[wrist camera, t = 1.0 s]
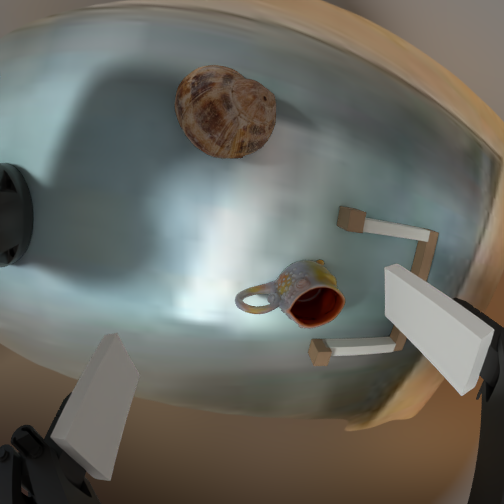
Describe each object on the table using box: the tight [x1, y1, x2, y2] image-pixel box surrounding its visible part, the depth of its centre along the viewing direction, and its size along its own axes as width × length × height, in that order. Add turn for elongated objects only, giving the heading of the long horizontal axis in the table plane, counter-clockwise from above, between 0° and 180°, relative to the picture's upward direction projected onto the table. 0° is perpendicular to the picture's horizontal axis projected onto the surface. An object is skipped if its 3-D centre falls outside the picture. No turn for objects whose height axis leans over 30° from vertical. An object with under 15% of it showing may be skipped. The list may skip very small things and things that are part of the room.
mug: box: [235, 260, 345, 328], centre depth 31 cm, size 12×7×7 cm, turn 90°
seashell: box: [175, 65, 276, 158], centre depth 25 cm, size 10×9×10 cm
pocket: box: [308, 206, 439, 366], centre depth 34 cm, size 16×21×3 cm
